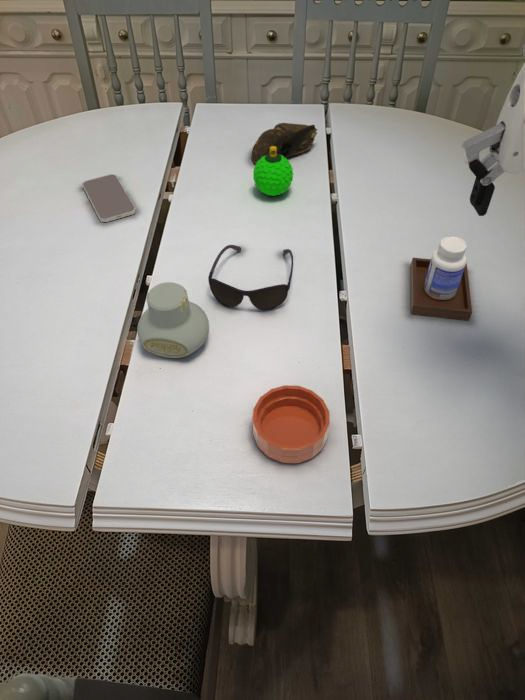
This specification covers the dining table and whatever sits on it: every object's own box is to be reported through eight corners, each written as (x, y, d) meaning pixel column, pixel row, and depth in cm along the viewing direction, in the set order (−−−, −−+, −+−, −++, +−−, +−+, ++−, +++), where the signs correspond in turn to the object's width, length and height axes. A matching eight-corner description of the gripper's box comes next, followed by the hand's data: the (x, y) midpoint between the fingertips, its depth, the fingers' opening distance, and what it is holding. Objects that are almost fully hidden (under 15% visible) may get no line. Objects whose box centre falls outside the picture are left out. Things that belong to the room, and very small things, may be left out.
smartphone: (100, 220, 104) (80, 182, 112) (101, 224, 104) (82, 186, 113) (136, 209, 106) (114, 173, 114) (137, 213, 106) (115, 177, 115)
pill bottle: (462, 296, 89) (479, 250, 82) (434, 304, 88) (449, 258, 80) (443, 276, 92) (458, 230, 85) (416, 284, 91) (429, 238, 84)
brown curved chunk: (263, 170, 115) (258, 138, 111) (243, 162, 122) (238, 130, 118) (325, 148, 121) (322, 116, 116) (302, 141, 127) (299, 110, 123)
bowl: (337, 417, 74) (340, 400, 71) (310, 476, 68) (312, 461, 65) (272, 393, 77) (272, 376, 74) (241, 448, 71) (239, 432, 68)
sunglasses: (206, 307, 89) (203, 285, 85) (224, 248, 99) (222, 226, 95) (287, 315, 87) (288, 292, 84) (296, 254, 97) (297, 231, 94)
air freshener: (134, 356, 82) (120, 310, 74) (151, 318, 87) (139, 271, 80) (203, 365, 81) (195, 319, 73) (215, 326, 86) (210, 279, 78)
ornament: (254, 204, 108) (252, 159, 100) (253, 182, 113) (251, 137, 106) (294, 203, 108) (295, 157, 100) (291, 181, 113) (292, 136, 106)
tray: (468, 320, 86) (472, 311, 84) (410, 314, 87) (413, 305, 86) (463, 271, 94) (466, 262, 92) (410, 266, 95) (412, 257, 93)
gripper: (503, 72, 48) (456, 230, 61) (688, 61, 49) (603, 220, 61) (474, 42, 53) (436, 194, 66) (643, 33, 54) (573, 185, 66)
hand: (517, 206), depth 64 cm, fingers open, 9 cm apart
